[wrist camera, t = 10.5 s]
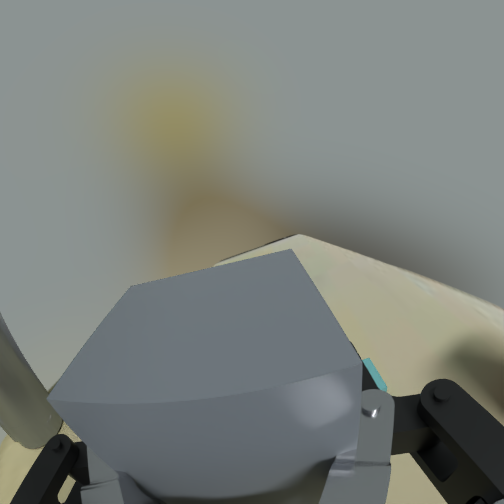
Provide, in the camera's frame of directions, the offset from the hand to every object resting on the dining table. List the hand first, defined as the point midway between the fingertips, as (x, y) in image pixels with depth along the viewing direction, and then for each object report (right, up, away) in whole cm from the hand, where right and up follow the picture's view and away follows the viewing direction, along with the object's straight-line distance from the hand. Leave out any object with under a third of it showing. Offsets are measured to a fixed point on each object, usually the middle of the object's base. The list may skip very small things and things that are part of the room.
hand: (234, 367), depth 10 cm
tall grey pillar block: (+2, -6, -1) cm, 6 cm away
